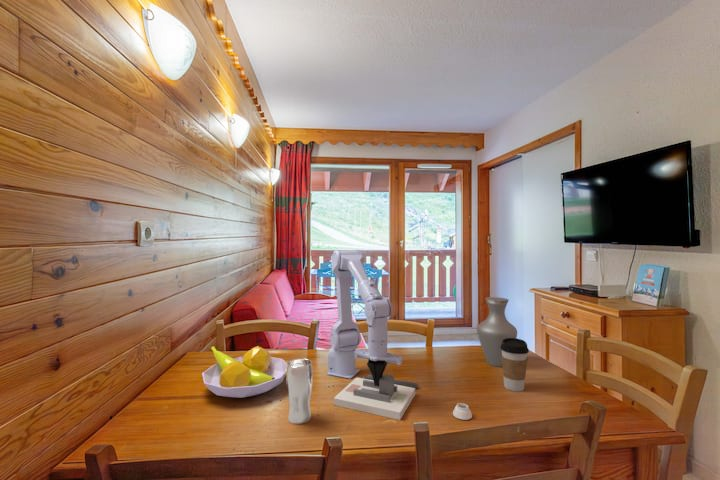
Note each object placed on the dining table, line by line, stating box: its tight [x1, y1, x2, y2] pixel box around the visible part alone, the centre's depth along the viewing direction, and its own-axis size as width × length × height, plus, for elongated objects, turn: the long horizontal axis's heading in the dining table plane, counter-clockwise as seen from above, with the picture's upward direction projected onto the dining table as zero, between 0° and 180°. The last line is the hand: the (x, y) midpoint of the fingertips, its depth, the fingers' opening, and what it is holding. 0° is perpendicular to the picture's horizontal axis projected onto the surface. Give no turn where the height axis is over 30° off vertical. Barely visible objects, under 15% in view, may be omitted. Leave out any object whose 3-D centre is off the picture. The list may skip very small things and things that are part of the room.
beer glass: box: [285, 357, 314, 425], centre depth 92 cm, size 7×7×15 cm
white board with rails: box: [333, 374, 419, 421], centre depth 105 cm, size 20×21×4 cm
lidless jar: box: [452, 402, 473, 421], centre depth 94 cm, size 5×3×5 cm
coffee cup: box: [500, 338, 530, 392], centre depth 111 cm, size 8×8×15 cm
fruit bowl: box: [201, 345, 288, 399], centre depth 111 cm, size 28×27×11 cm
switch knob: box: [379, 373, 395, 397], centre depth 101 cm, size 3×5×5 cm, turn 156°
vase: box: [476, 296, 518, 368], centre depth 132 cm, size 14×14×25 cm
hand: (377, 384), depth 102 cm, fingers closed
